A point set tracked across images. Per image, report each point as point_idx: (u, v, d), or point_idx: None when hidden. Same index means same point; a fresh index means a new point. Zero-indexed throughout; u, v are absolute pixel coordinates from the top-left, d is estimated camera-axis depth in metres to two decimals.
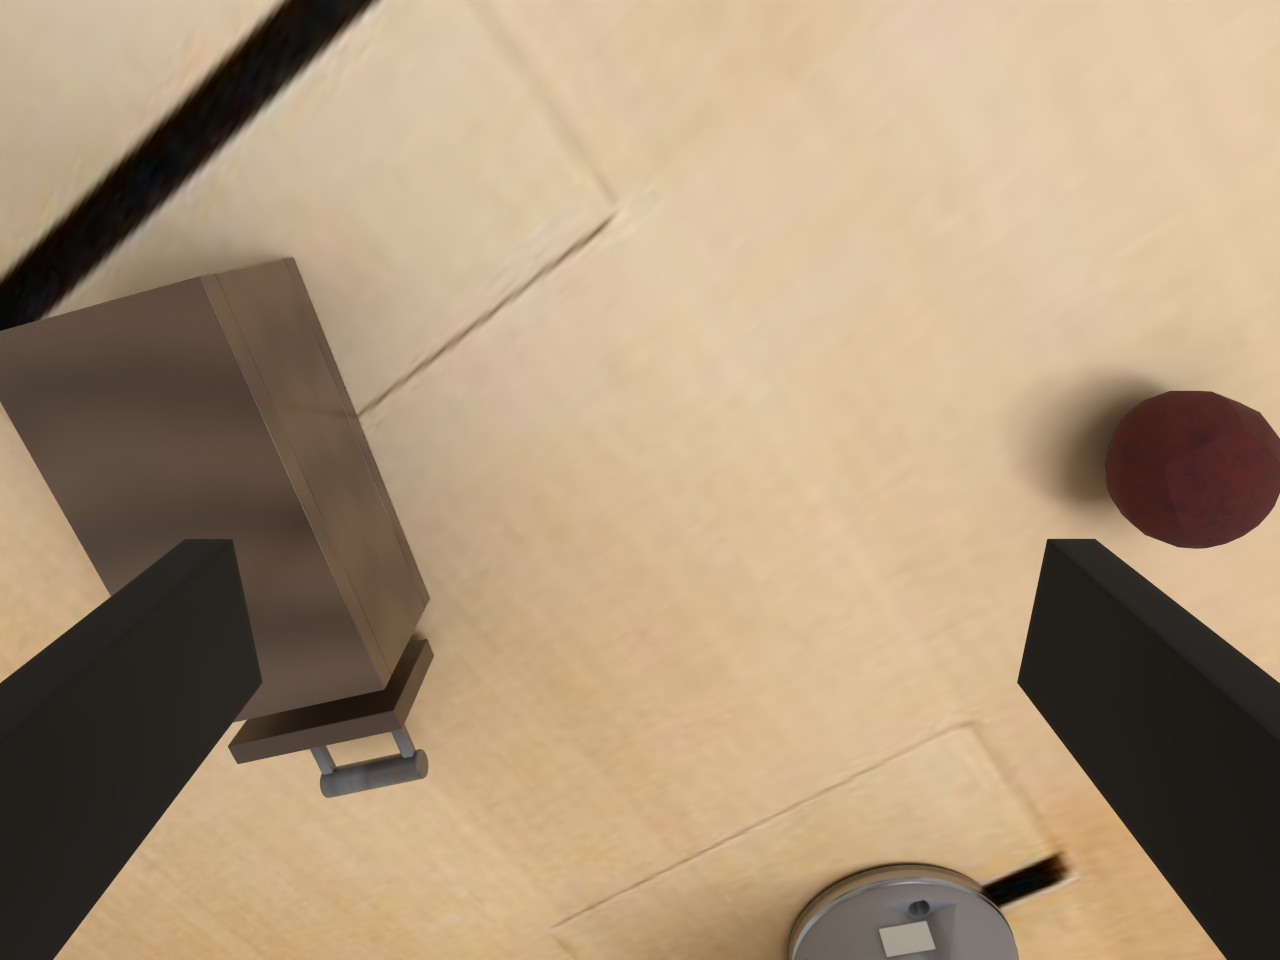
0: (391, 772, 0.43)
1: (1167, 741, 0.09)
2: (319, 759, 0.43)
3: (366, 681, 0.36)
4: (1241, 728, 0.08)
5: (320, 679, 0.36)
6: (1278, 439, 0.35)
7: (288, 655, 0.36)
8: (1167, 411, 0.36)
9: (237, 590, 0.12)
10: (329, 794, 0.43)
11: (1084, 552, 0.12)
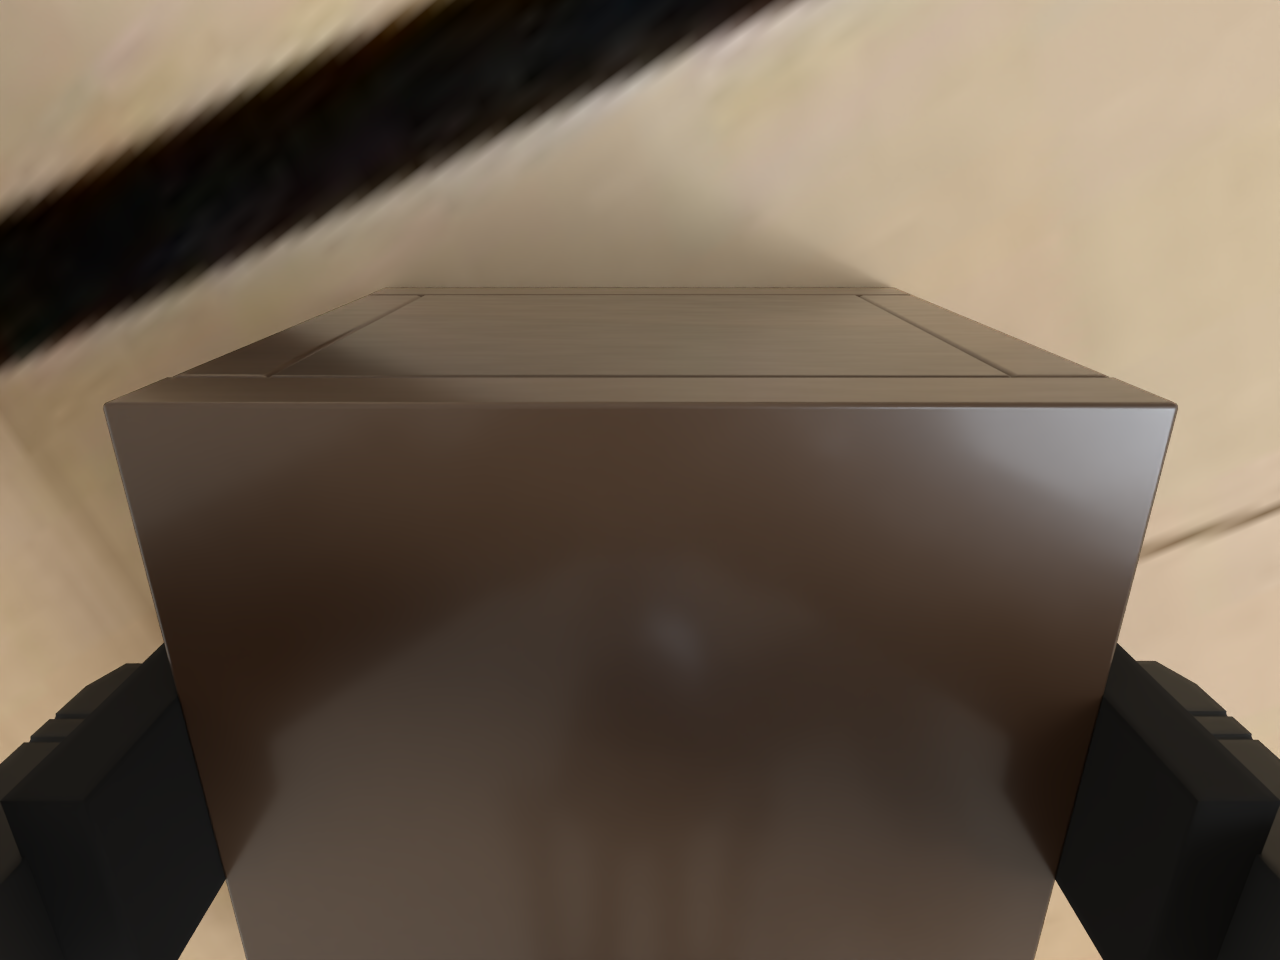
0: None
1: None
2: None
3: None
4: None
5: None
6: None
7: None
8: None
9: None
10: None
11: None
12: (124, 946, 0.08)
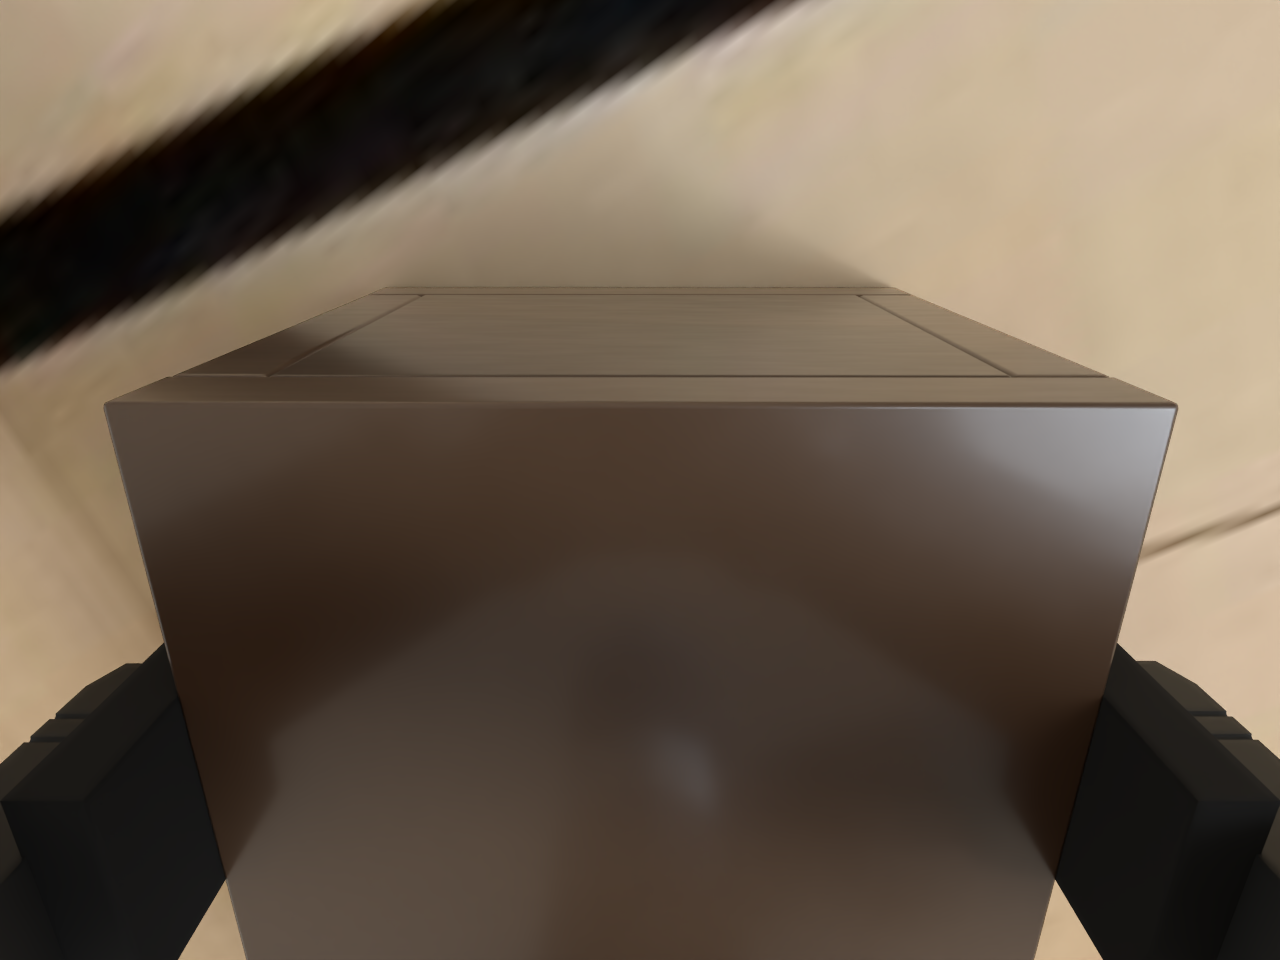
0: None
1: None
2: None
3: None
4: None
5: None
6: None
7: None
8: None
9: None
10: None
11: None
12: (124, 946, 0.08)
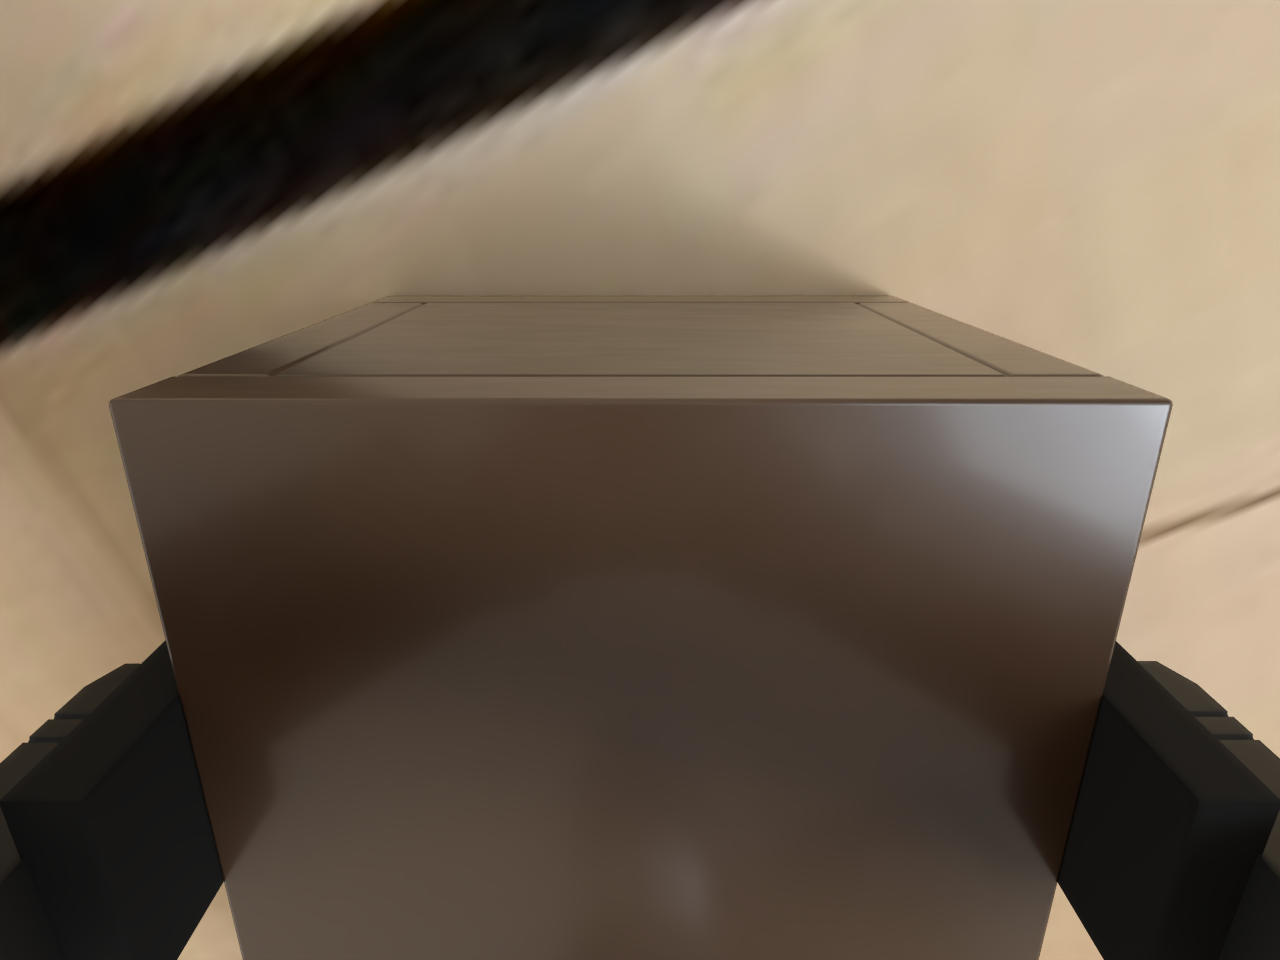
0: None
1: None
2: None
3: None
4: None
5: None
6: None
7: None
8: None
9: None
10: None
11: None
12: (123, 947, 0.08)
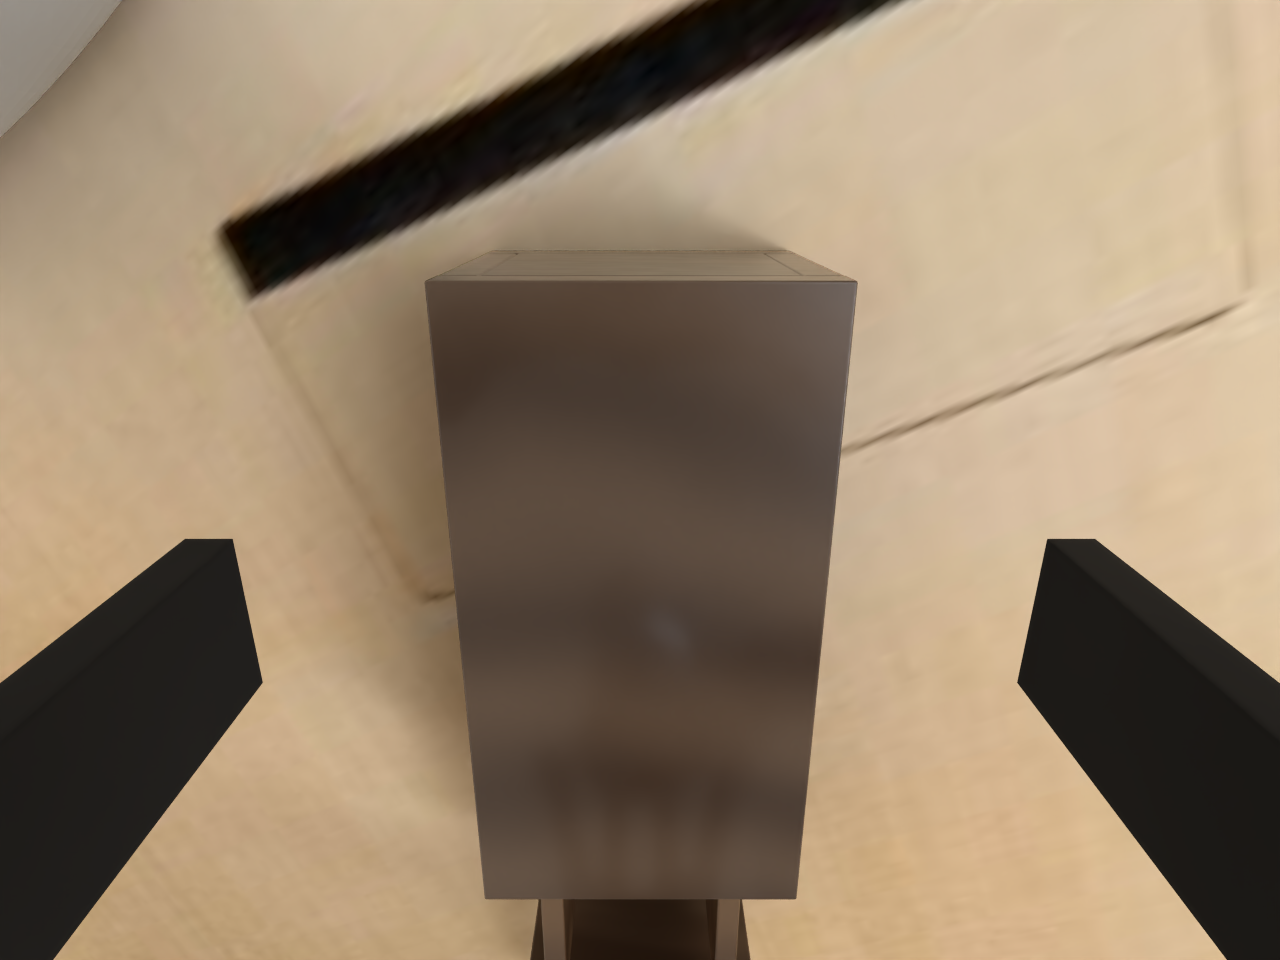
0: None
1: (1167, 741, 0.09)
2: None
3: (777, 885, 0.25)
4: (1241, 728, 0.08)
5: (714, 870, 0.25)
6: None
7: (686, 831, 0.24)
8: None
9: (238, 591, 0.12)
10: None
11: (1084, 552, 0.12)
12: None
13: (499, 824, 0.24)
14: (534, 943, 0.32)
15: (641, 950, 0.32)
